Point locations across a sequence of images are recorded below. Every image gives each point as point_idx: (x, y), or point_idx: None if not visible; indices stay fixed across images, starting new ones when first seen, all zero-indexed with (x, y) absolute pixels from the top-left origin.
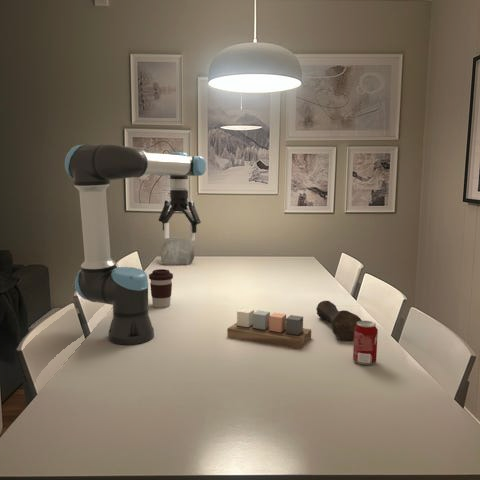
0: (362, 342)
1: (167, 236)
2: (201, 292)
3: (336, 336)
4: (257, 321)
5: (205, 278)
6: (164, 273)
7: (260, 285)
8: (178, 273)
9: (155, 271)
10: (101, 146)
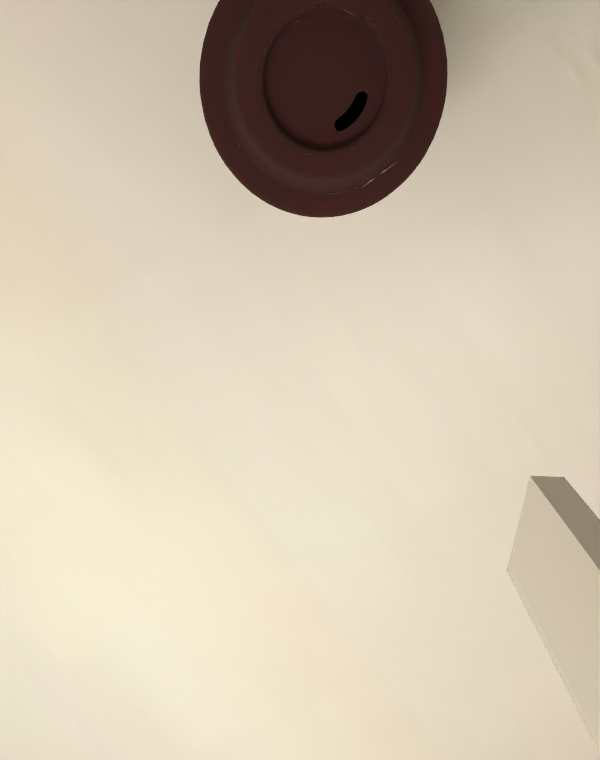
0: None
1: (530, 550)
2: (276, 479)
3: None
4: None
5: (412, 693)
6: (242, 29)
7: (104, 692)
8: None
9: (356, 7)
10: None
